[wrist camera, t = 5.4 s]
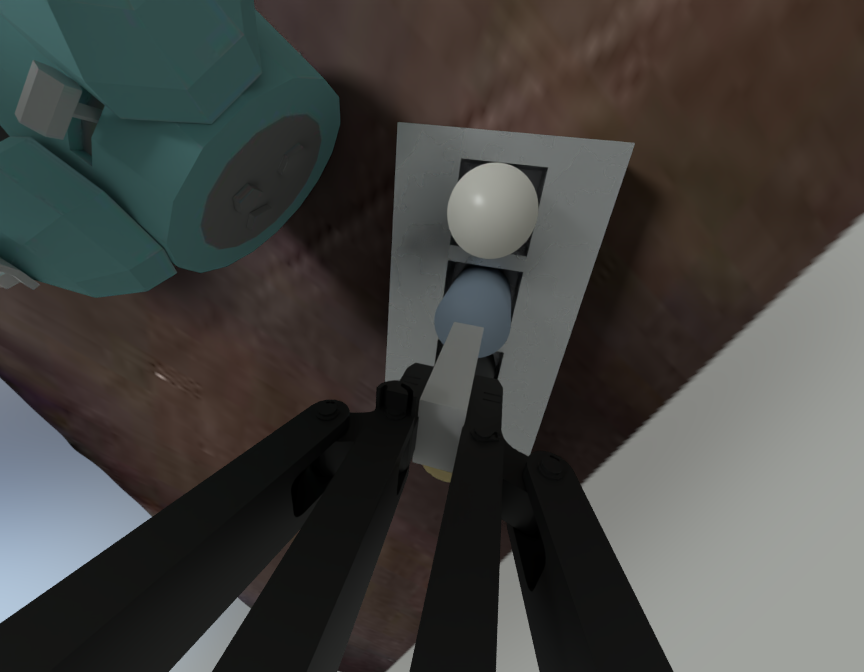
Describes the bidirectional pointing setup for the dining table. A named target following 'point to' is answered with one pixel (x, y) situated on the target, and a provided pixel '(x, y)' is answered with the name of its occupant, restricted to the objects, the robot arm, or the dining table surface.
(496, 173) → the white egg
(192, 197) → the alarm clock
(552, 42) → the dining table surface
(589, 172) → the white socket board
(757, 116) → the dining table surface
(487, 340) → the blue ovoid
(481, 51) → the dining table surface
